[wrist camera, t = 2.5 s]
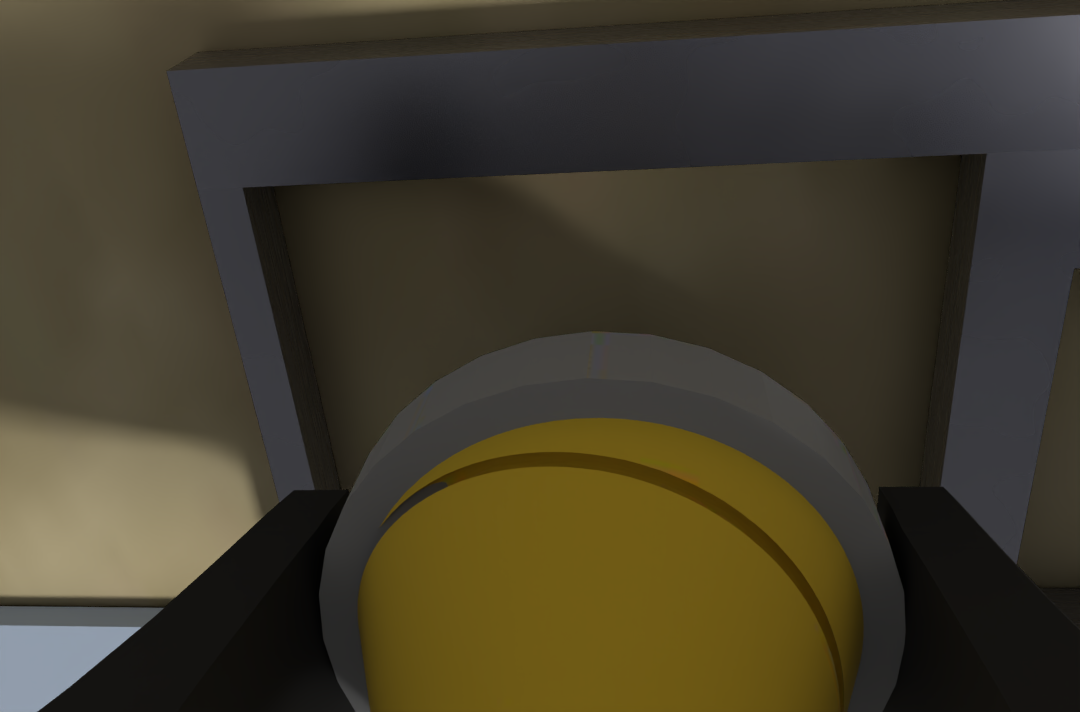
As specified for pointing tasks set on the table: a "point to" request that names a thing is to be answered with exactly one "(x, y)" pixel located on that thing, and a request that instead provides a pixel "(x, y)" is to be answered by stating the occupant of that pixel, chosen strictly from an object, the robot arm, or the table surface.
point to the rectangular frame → (672, 142)
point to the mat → (57, 648)
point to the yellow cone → (611, 544)
